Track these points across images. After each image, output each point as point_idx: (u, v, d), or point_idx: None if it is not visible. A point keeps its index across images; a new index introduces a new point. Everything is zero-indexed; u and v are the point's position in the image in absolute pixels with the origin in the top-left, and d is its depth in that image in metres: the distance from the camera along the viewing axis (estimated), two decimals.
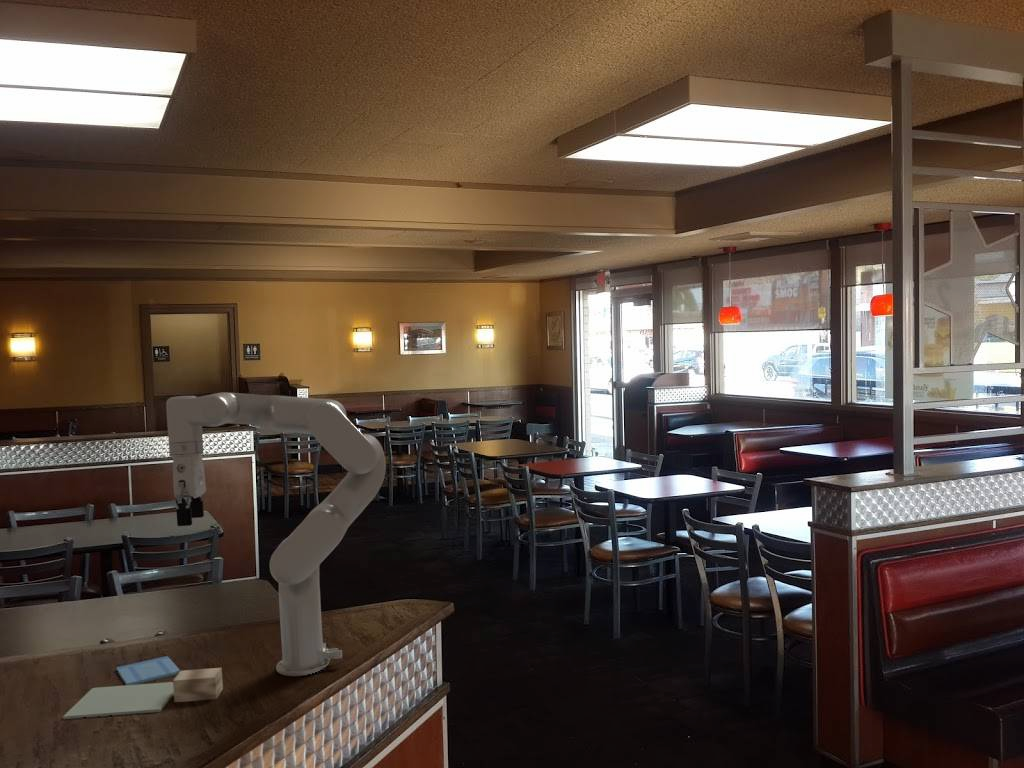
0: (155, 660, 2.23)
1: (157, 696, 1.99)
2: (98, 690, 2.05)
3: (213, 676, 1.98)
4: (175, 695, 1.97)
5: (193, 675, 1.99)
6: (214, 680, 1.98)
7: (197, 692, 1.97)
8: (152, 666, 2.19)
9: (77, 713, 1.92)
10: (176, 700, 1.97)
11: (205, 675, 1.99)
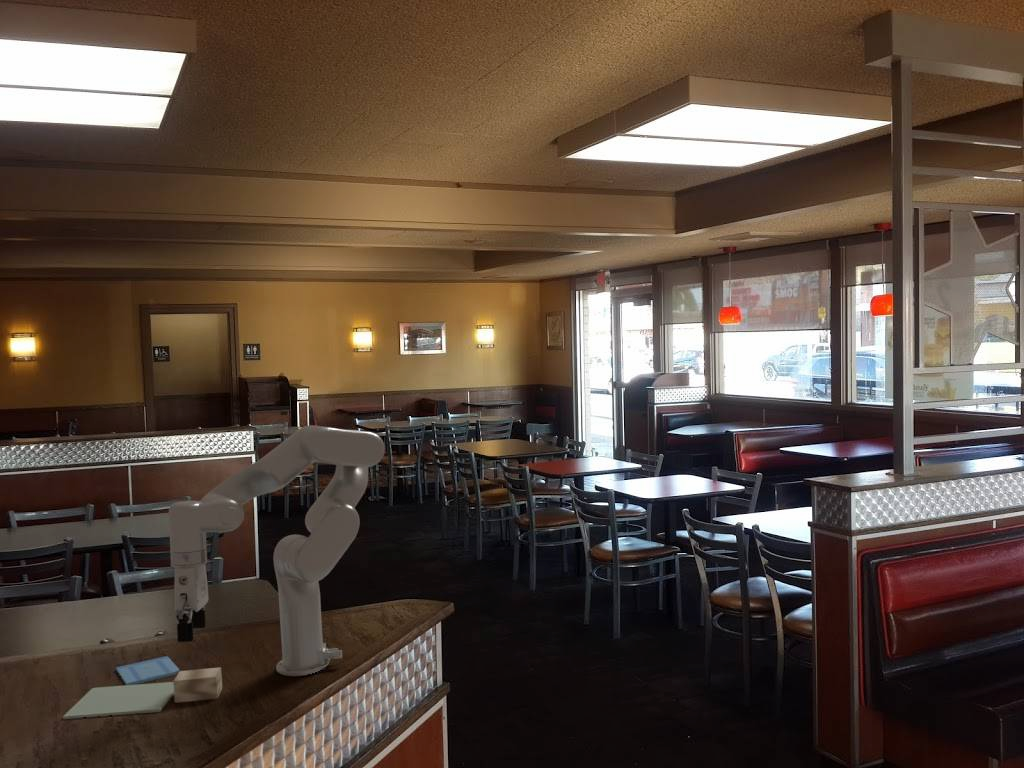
0: (155, 660, 2.23)
1: (157, 696, 1.99)
2: (98, 690, 2.05)
3: (214, 676, 1.98)
4: (175, 696, 1.97)
5: (193, 676, 1.99)
6: (215, 680, 1.98)
7: (198, 692, 1.97)
8: (151, 666, 2.19)
9: (77, 713, 1.92)
10: (176, 700, 1.97)
11: (205, 675, 1.99)
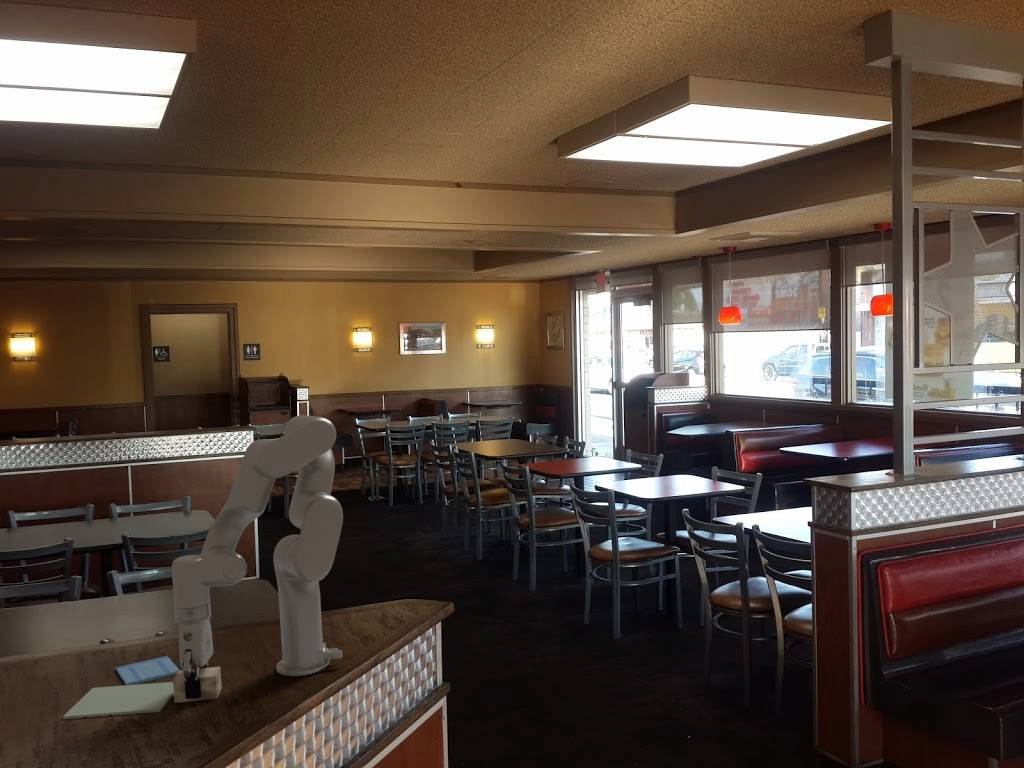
0: (155, 660, 2.23)
1: (157, 696, 1.99)
2: (98, 690, 2.05)
3: (213, 675, 1.98)
4: (175, 695, 1.97)
5: None
6: (215, 679, 1.98)
7: None
8: (151, 666, 2.19)
9: (77, 713, 1.92)
10: (176, 700, 1.97)
11: (205, 674, 1.99)
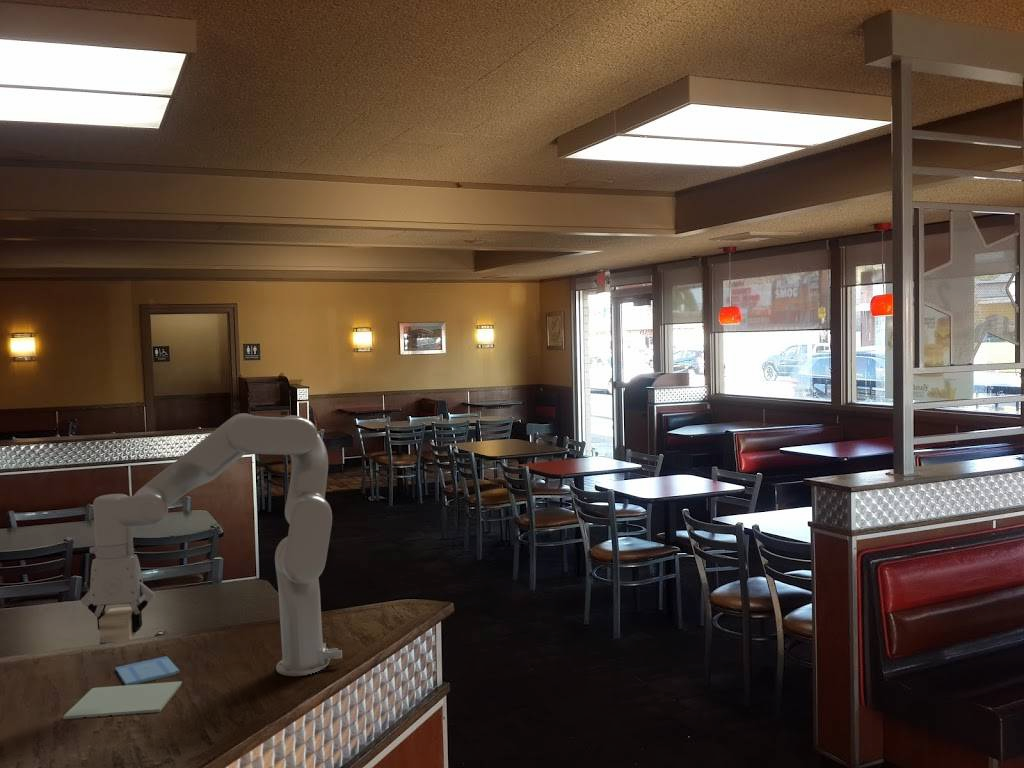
0: (154, 660, 2.23)
1: (157, 696, 1.99)
2: (98, 690, 2.05)
3: (102, 619, 1.94)
4: None
5: (115, 612, 1.99)
6: (99, 622, 1.94)
7: None
8: (151, 666, 2.19)
9: (77, 713, 1.92)
10: None
11: (110, 615, 1.96)
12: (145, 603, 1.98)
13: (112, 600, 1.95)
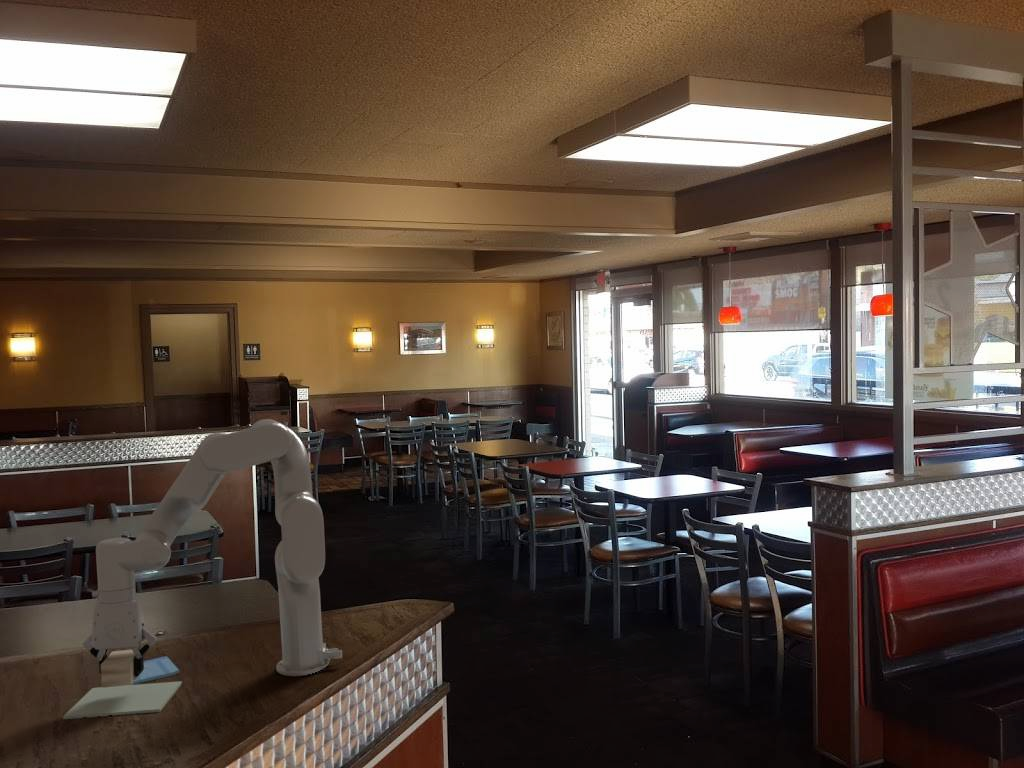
0: (154, 660, 2.23)
1: (157, 696, 1.99)
2: (98, 690, 2.05)
3: (104, 663, 1.94)
4: None
5: (117, 656, 1.99)
6: (101, 667, 1.94)
7: None
8: (151, 666, 2.19)
9: (77, 713, 1.92)
10: None
11: (112, 660, 1.97)
12: (147, 647, 1.98)
13: (114, 645, 1.96)
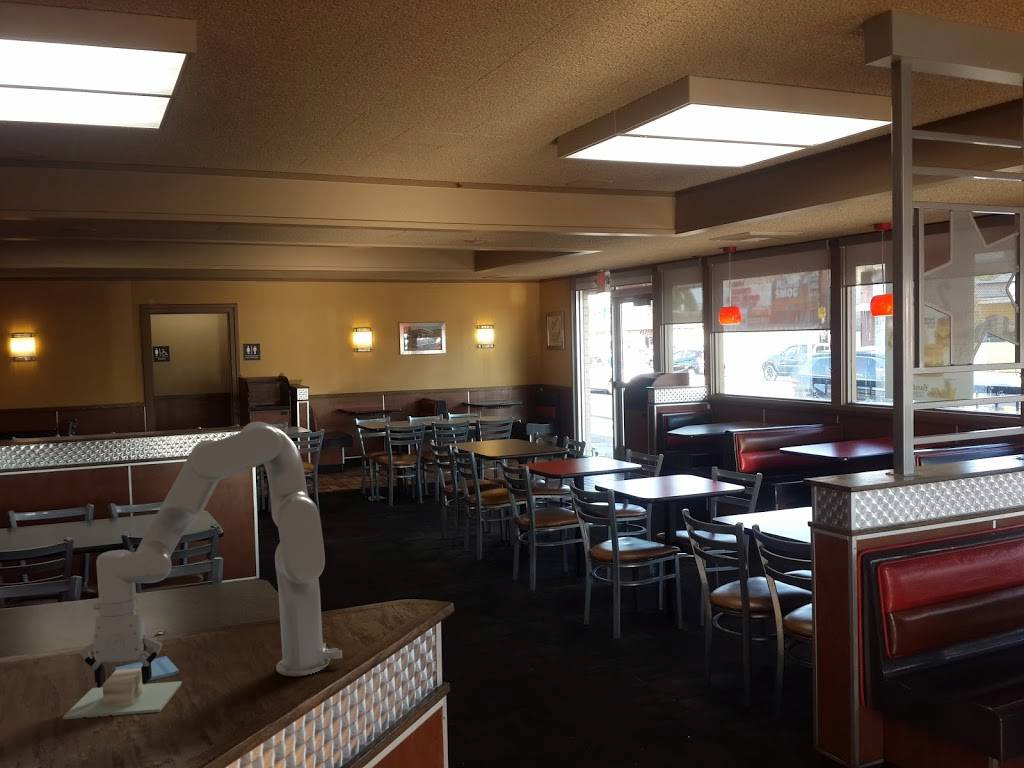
0: (154, 660, 2.23)
1: (157, 696, 1.99)
2: (98, 690, 2.05)
3: (106, 683, 1.95)
4: None
5: (119, 675, 2.00)
6: (103, 687, 1.94)
7: None
8: None
9: (77, 713, 1.92)
10: None
11: (114, 679, 1.97)
12: (155, 655, 1.98)
13: (116, 657, 1.96)
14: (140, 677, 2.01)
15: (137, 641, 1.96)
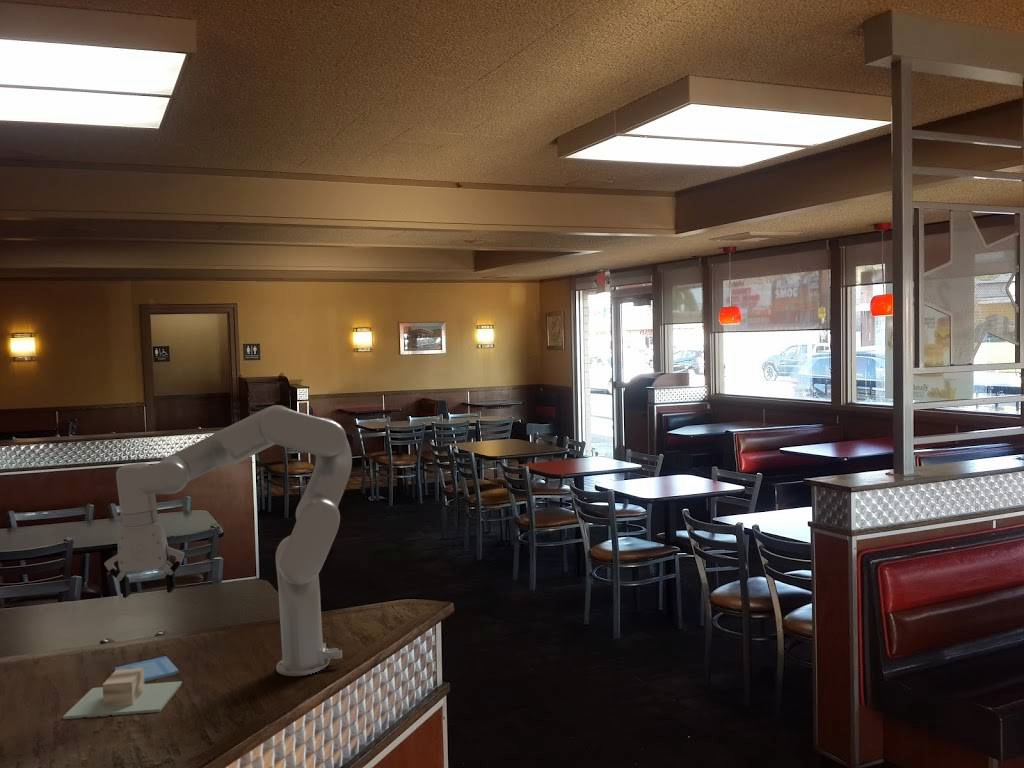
0: (153, 660, 2.23)
1: (157, 696, 1.99)
2: (98, 690, 2.05)
3: (106, 683, 1.95)
4: None
5: (119, 675, 2.00)
6: (103, 687, 1.94)
7: None
8: (150, 666, 2.19)
9: (77, 713, 1.92)
10: None
11: (114, 679, 1.97)
12: (178, 564, 2.03)
13: (140, 566, 2.00)
14: (140, 677, 2.01)
15: (160, 550, 2.01)
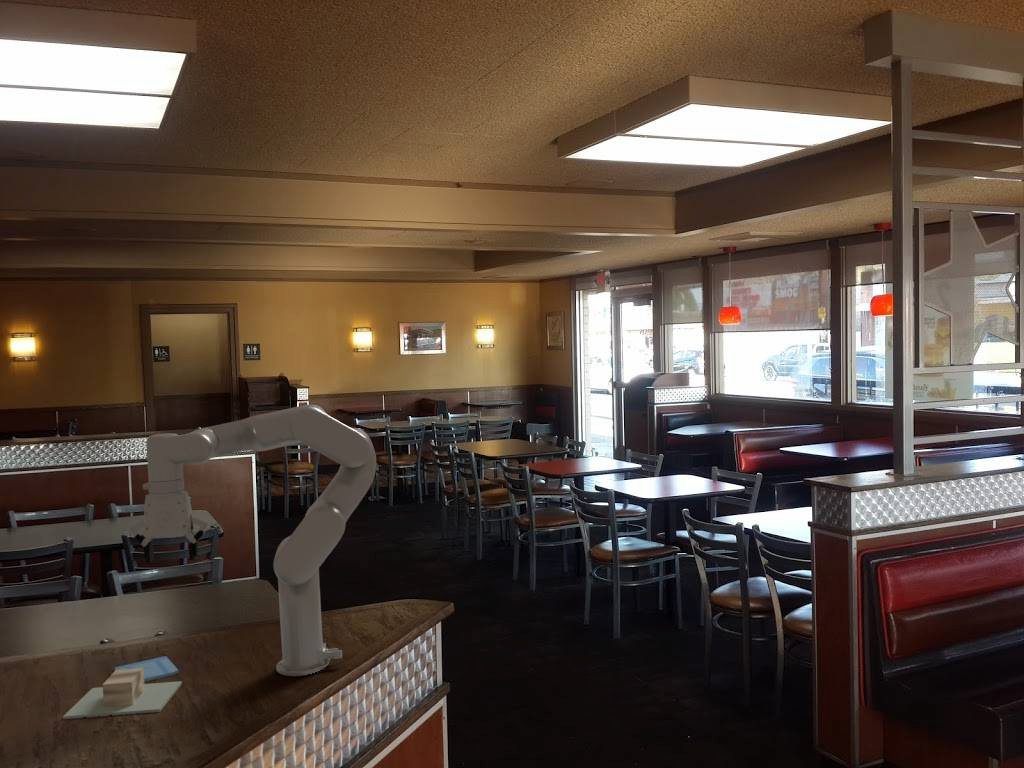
0: (153, 660, 2.23)
1: (157, 696, 1.99)
2: (98, 690, 2.05)
3: (106, 683, 1.95)
4: None
5: (119, 675, 2.00)
6: (103, 687, 1.94)
7: None
8: (150, 666, 2.19)
9: (77, 713, 1.92)
10: None
11: (114, 679, 1.97)
12: (201, 533, 2.08)
13: (165, 533, 2.05)
14: (140, 677, 2.01)
15: (185, 518, 2.06)
